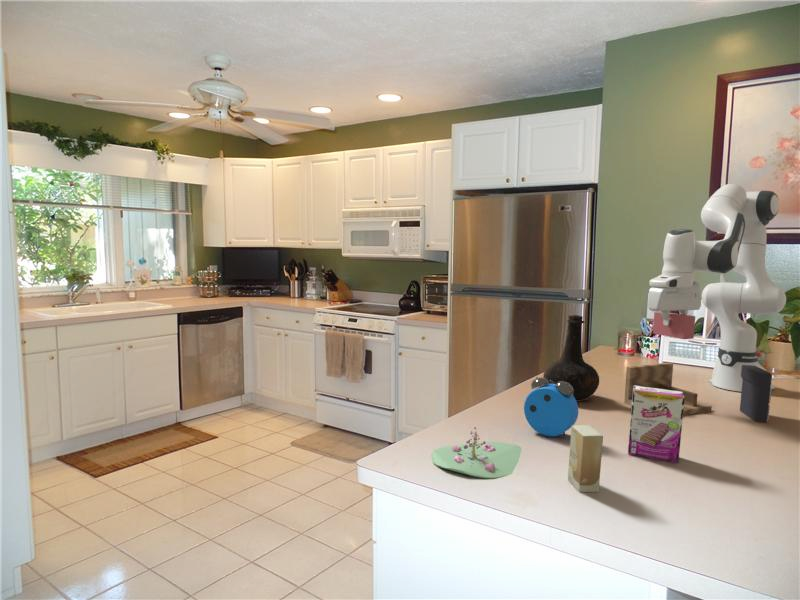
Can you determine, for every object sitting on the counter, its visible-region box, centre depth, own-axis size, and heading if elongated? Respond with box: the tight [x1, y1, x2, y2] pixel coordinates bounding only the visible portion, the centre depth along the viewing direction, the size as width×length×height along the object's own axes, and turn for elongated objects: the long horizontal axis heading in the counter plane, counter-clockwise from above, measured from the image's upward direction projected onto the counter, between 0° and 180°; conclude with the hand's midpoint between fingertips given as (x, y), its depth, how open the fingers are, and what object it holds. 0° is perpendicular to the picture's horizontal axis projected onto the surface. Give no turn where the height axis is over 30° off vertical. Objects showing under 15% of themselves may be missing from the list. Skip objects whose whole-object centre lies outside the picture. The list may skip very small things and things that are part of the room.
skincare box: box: [567, 424, 604, 493], centre depth 107 cm, size 6×4×12 cm
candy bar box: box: [627, 386, 685, 463], centre depth 124 cm, size 11×5×16 cm, turn 65°
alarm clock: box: [523, 376, 579, 438], centre depth 137 cm, size 13×6×15 cm, turn 52°
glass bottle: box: [542, 314, 600, 402], centre depth 171 cm, size 18×18×28 cm
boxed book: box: [652, 311, 696, 340], centre depth 162 cm, size 4×11×7 cm, turn 24°
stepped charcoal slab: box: [739, 365, 773, 423], centre depth 156 cm, size 11×4×15 cm, turn 168°
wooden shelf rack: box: [623, 362, 713, 416], centre depth 164 cm, size 20×16×12 cm
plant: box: [431, 426, 522, 479], centre depth 121 cm, size 25×21×9 cm
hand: (673, 324), depth 162 cm, fingers closed on boxed book, 4 cm apart
